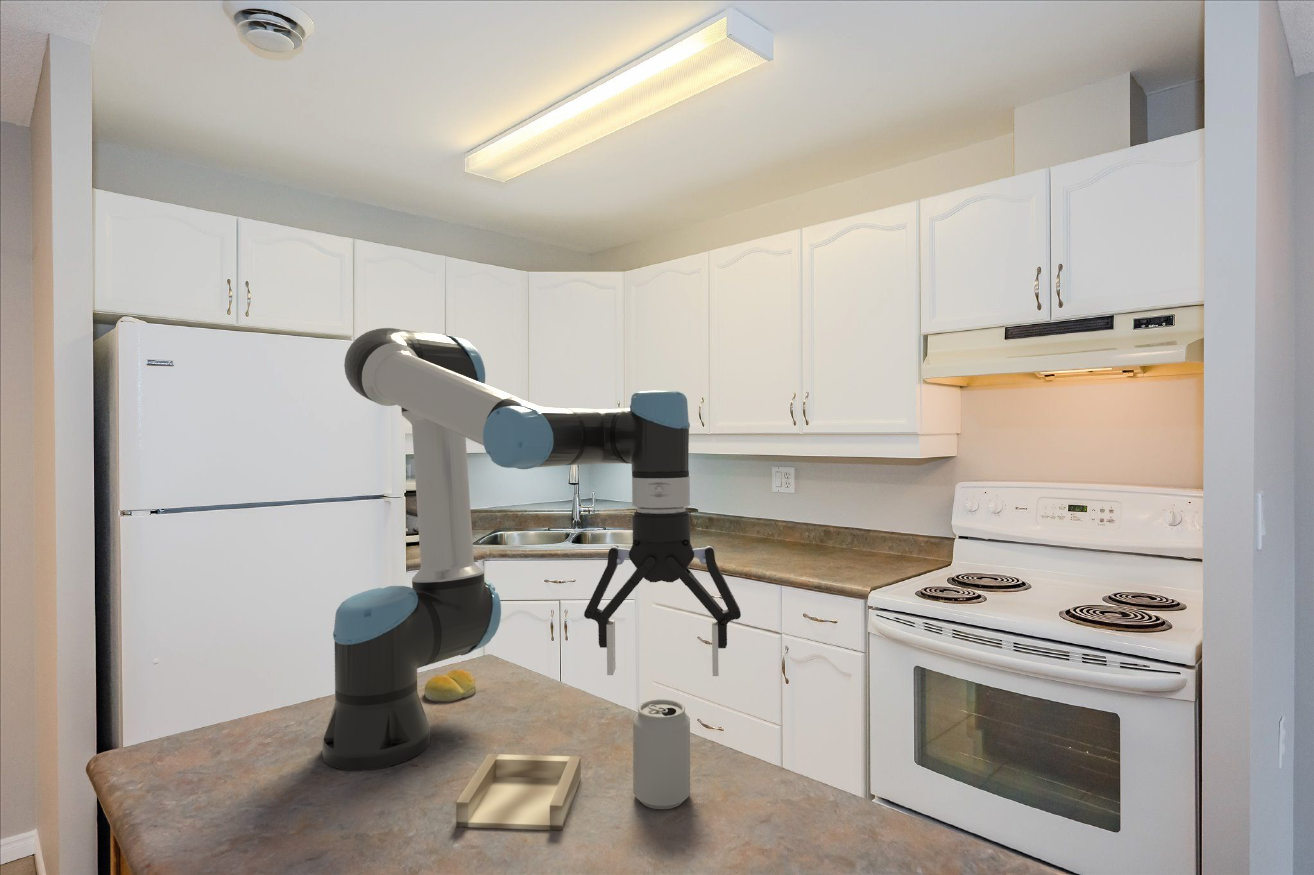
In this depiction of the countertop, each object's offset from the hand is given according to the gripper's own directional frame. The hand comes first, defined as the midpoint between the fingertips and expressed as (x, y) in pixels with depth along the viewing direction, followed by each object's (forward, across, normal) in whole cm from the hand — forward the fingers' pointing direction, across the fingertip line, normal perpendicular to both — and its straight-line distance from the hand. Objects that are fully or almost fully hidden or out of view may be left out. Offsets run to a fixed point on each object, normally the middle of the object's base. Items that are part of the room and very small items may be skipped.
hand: (663, 672), depth 94 cm
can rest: (+16, -18, -2) cm, 25 cm away
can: (+17, 0, 0) cm, 17 cm away
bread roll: (+16, -41, +35) cm, 57 cm away
